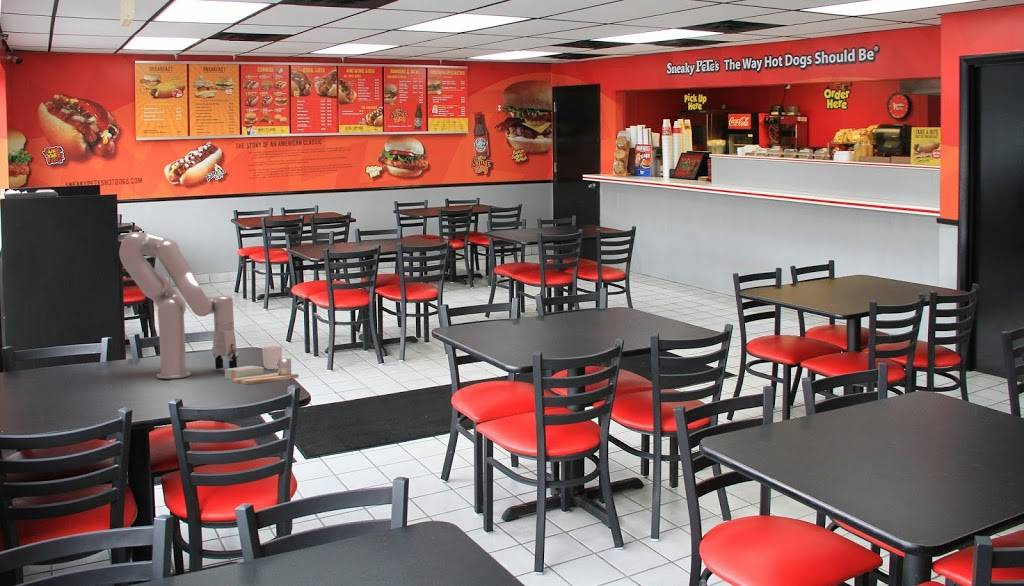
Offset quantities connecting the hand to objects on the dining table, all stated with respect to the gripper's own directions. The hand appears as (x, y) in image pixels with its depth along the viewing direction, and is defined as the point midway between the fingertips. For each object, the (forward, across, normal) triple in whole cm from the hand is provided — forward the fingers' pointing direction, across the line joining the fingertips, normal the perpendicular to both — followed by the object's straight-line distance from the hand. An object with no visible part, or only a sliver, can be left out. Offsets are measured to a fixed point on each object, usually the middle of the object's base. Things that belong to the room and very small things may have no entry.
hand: (226, 369), depth 392 cm
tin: (+1, +26, +9) cm, 28 cm away
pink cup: (+3, +6, +18) cm, 19 cm away
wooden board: (+2, +24, +2) cm, 24 cm away
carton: (+2, +13, 0) cm, 13 cm away
